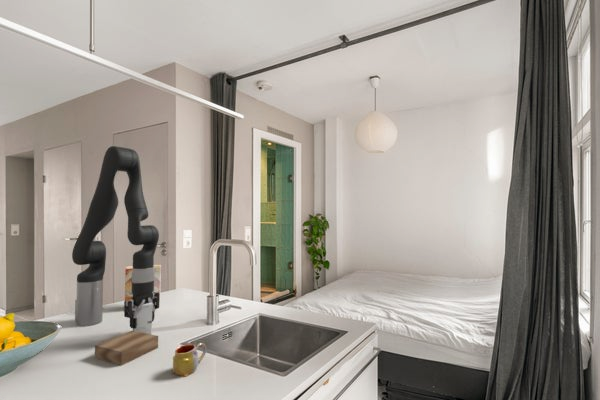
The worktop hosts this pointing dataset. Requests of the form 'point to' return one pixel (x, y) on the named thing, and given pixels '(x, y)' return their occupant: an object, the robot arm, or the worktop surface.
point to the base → (126, 347)
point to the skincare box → (144, 319)
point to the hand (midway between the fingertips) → (142, 324)
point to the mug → (187, 359)
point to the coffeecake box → (129, 281)
